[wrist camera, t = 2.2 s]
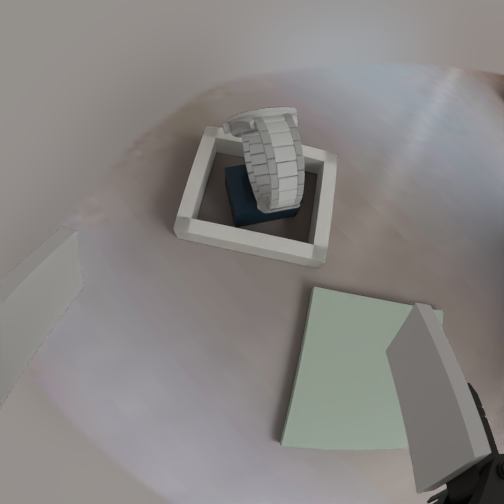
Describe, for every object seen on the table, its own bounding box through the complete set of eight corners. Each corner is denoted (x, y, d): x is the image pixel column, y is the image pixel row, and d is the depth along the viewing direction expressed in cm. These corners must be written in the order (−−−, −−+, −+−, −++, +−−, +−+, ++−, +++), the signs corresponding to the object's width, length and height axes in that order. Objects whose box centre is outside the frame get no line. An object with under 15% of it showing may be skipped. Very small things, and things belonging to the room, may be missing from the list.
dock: (330, 167, 29) (337, 154, 27) (317, 268, 27) (325, 262, 24) (207, 140, 29) (206, 125, 27) (177, 238, 27) (173, 229, 24)
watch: (277, 157, 29) (299, 78, 19) (300, 234, 27) (341, 177, 17) (220, 166, 29) (218, 85, 18) (238, 247, 27) (245, 192, 16)
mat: (439, 311, 27) (443, 311, 26) (412, 445, 23) (416, 447, 22) (311, 287, 26) (314, 286, 26) (279, 443, 23) (281, 446, 22)
